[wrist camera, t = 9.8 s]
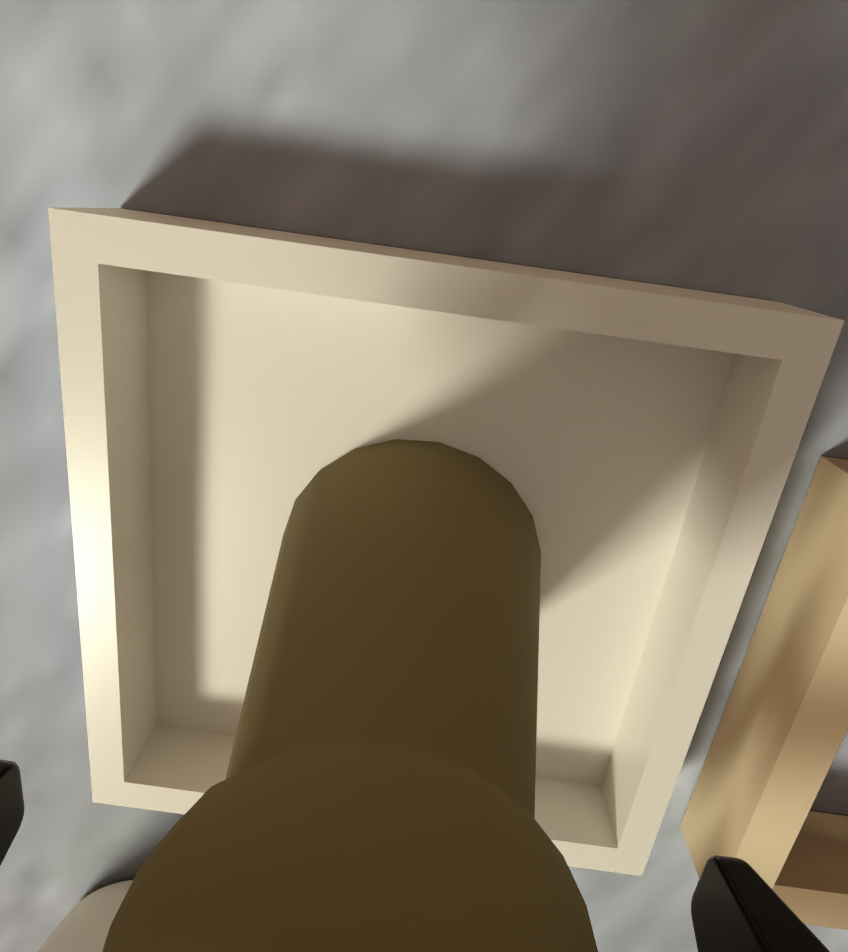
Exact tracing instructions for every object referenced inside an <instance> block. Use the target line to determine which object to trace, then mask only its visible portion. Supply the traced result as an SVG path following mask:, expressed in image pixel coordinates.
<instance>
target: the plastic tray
mask: <svg viewBox="0 0 848 952" xmlns="http://www.w3.org/2000/svg"><path fill="white" fill-rule="evenodd" d="M48 211H49V225H50V238H51V251H52V265H53V278H54V292H55V305H56V318H57V332H58V345H59V358H60V372H61V385H62V398H63V412H64V425H65V438H66V452H67V465H68V478H69V492H70V505H71V519H72V532H73V545H74V559H75V572H76V585H77V599H78V612H79V625H80V639H81V652H82V665H83V679H84V692H85V705H86V719H87V732H88V746H89V759H90V772H91V786H92V799H93V802H96V803H103V804H110V805H118V806H125V807H133V808H140V809H148V810H155V811H163V812H170V813H177V814H186V813H187V811H188V810H189V809H190V808H191V807H192V806H193V805H194V804H195V803H196V802H197V801H198V800H199V799H200V798H201V797H202V796H203V795H204V793H205V792H206V791H207V790H208V789H209V788H210V787H211V786H213V785H215V784H217V783H219V782H221V781H223V780H225V778H226V774H227V769H228V765H229V761H230V757H231V753H232V748H233V744H234V740H235V736H236V732H237V727H238V723H239V719H240V715H241V711H242V706H243V702H244V698H245V694H246V689H247V685H248V681H249V677H250V673H251V668H252V664H253V660H254V656H255V652H256V647H257V643H258V639H259V635H260V631H261V626H262V622H263V618H264V614H265V610H266V605H267V601H268V597H269V593H270V588H271V584H272V580H273V576H274V572H275V567H276V563H277V559H278V555H279V551H280V546H281V542H282V538H283V534H284V531H285V528H286V525H287V522H288V519H289V516H290V514H291V511H292V508H293V505H294V502H295V499H296V498H297V497H298V496H299V495H300V493H301V492H302V491H303V490H304V488H305V487H306V486H307V485H308V484H309V482H310V481H311V480H312V479H313V477H314V476H315V475H316V474H317V473H318V471H319V470H320V469H322V468H324V467H325V466H327V465H329V464H330V463H332V462H334V461H335V460H337V459H338V458H340V457H342V456H343V455H345V454H347V453H348V452H350V451H352V450H353V449H356V448H360V447H364V446H368V445H373V444H377V443H381V442H385V441H389V440H394V439H403V440H418V441H432V442H441V443H443V444H446V445H448V446H451V447H454V448H456V449H459V450H461V451H464V452H467V453H469V454H472V455H474V456H477V457H480V458H481V459H482V460H483V461H485V462H486V463H487V464H488V465H490V466H491V467H492V468H493V469H495V470H496V471H497V472H498V473H500V474H501V475H502V476H503V477H505V478H506V479H507V480H508V481H510V482H511V483H512V484H513V486H514V488H515V489H516V491H517V492H518V494H519V495H520V497H521V498H522V500H523V502H524V503H525V505H526V506H527V508H528V509H529V511H530V513H531V514H532V516H533V519H534V523H535V528H536V532H537V537H538V541H539V546H540V550H541V574H540V614H539V654H538V695H537V735H536V775H535V816H534V819H535V820H536V821H537V822H538V824H539V825H540V826H541V828H542V829H543V830H544V832H545V833H546V834H547V835H548V837H549V838H550V839H551V841H552V842H553V843H554V845H555V846H556V847H557V848H558V850H559V851H560V852H561V854H562V855H563V856H564V858H565V860H566V863H567V865H568V866H571V867H579V868H586V869H594V870H601V871H609V872H616V873H623V874H631V875H638V876H642V875H643V872H644V869H645V866H646V864H647V861H648V858H649V855H650V853H651V850H652V847H653V845H654V842H655V839H656V836H657V834H658V831H659V828H660V825H661V823H662V820H663V817H664V814H665V812H666V809H667V806H668V803H669V801H670V798H671V795H672V792H673V790H674V787H675V784H676V781H677V779H678V776H679V773H680V770H681V768H682V765H683V762H684V760H685V757H686V754H687V751H688V749H689V746H690V743H691V740H692V738H693V735H694V732H695V729H696V727H697V724H698V721H699V718H700V716H701V713H702V710H703V707H704V705H705V702H706V699H707V696H708V694H709V691H710V688H711V685H712V683H713V680H714V677H715V675H716V672H717V669H718V666H719V664H720V661H721V658H722V655H723V653H724V650H725V647H726V644H727V642H728V639H729V636H730V633H731V631H732V628H733V625H734V622H735V620H736V617H737V614H738V611H739V609H740V606H741V603H742V600H743V598H744V595H745V592H746V590H747V587H748V584H749V581H750V579H751V576H752V573H753V570H754V568H755V565H756V562H757V559H758V557H759V554H760V551H761V548H762V546H763V543H764V540H765V537H766V535H767V532H768V529H769V526H770V524H771V521H772V518H773V516H774V513H775V510H776V507H777V505H778V502H779V499H780V496H781V494H782V491H783V488H784V485H785V483H786V480H787V477H788V474H789V472H790V469H791V466H792V463H793V461H794V458H795V455H796V452H797V450H798V447H799V444H800V441H801V439H802V436H803V433H804V431H805V428H806V425H807V422H808V420H809V417H810V414H811V411H812V409H813V406H814V403H815V400H816V398H817V395H818V392H819V389H820V387H821V384H822V381H823V378H824V376H825V373H826V370H827V367H828V365H829V362H830V359H831V356H832V354H833V351H834V348H835V346H836V343H837V340H838V337H839V335H840V332H841V329H842V326H843V324H844V321H845V320H841V319H837V318H834V317H830V316H827V315H823V314H820V313H816V312H813V311H809V310H806V309H802V308H799V307H795V306H792V305H788V304H785V303H781V302H777V301H770V300H763V299H756V298H749V297H742V296H735V295H727V294H720V293H713V292H706V291H699V290H692V289H685V288H678V287H671V286H664V285H657V284H650V283H643V282H636V281H629V280H622V279H615V278H608V277H601V276H594V275H586V274H579V273H572V272H565V271H558V270H551V269H544V268H537V267H530V266H523V265H516V264H509V263H502V262H495V261H488V260H481V259H474V258H467V257H460V256H453V255H445V254H438V253H431V252H424V251H417V250H410V249H403V248H396V247H389V246H382V245H375V244H368V243H361V242H354V241H347V240H340V239H333V238H326V237H319V236H312V235H304V234H297V233H290V232H283V231H276V230H269V229H262V228H255V227H248V226H241V225H234V224H227V223H220V222H213V221H206V220H199V219H192V218H185V217H178V216H171V215H163V214H156V213H149V212H142V211H135V210H128V209H121V208H48Z"/></svg>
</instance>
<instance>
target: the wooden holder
mask: <svg viewBox="0 0 848 952" xmlns="http://www.w3.org/2000/svg"><path fill="white" fill-rule="evenodd" d="M847 730H848V460H847V459H839V458H832V457H825V456H821V458H820V460H819V463H818V465H817V468H816V471H815V473H814V476H813V479H812V481H811V484H810V486H809V489H808V492H807V494H806V497H805V500H804V502H803V505H802V507H801V510H800V513H799V515H798V518H797V521H796V523H795V526H794V529H793V531H792V534H791V536H790V539H789V542H788V544H787V547H786V550H785V552H784V555H783V557H782V560H781V563H780V565H779V568H778V571H777V573H776V576H775V578H774V581H773V584H772V586H771V589H770V592H769V594H768V597H767V600H766V602H765V605H764V607H763V610H762V613H761V615H760V618H759V621H758V623H757V626H756V628H755V631H754V634H753V636H752V639H751V642H750V644H749V647H748V649H747V652H746V655H745V657H744V660H743V663H742V665H741V668H740V671H739V673H738V676H737V678H736V681H735V684H734V686H733V689H732V692H731V694H730V697H729V699H728V702H727V705H726V707H725V710H724V713H723V715H722V718H721V720H720V723H719V726H718V728H717V731H716V734H715V736H714V739H713V741H712V744H711V747H710V749H709V752H708V755H707V757H706V760H705V763H704V765H703V768H702V770H701V773H700V776H699V778H698V781H697V784H696V786H695V789H694V791H693V794H692V797H691V799H690V802H689V805H688V807H687V810H686V812H685V815H684V818H683V820H682V823H681V829H682V832H683V835H684V837H685V840H686V843H687V846H688V848H689V851H690V854H691V857H692V859H693V862H694V865H695V868H696V870H697V873H698V876H699V879H700V877H701V874H702V872H703V869H704V867H705V864H706V862H707V860H708V859H709V858H710V857H711V856H713V855H719V856H727V857H734V858H739V859H742V860H744V861H745V862H747V863H748V864H749V865H750V866H751V867H752V868H753V869H754V870H755V871H756V872H757V873H758V874H759V875H760V877H761V878H762V879H763V880H764V881H765V882H766V883H767V884H768V885H769V886H770V887H771V888H772V890H773V891H774V892H775V893H776V894H777V895H778V896H779V897H780V898H781V899H782V900H783V901H784V903H785V904H786V905H787V906H788V907H789V908H790V909H791V910H792V911H793V912H794V913H795V914H796V916H797V917H798V918H799V919H800V920H801V921H802V922H803V923H804V924H809V925H817V926H824V927H832V928H839V929H846V930H848V816H843V815H836V814H828V813H821V812H813V811H809V810H810V808H811V806H812V804H813V802H814V800H815V798H816V796H817V794H818V792H819V789H820V787H821V785H822V783H823V781H824V779H825V777H826V775H827V773H828V770H829V768H830V766H831V764H832V762H833V760H834V758H835V756H836V754H837V752H838V749H839V747H840V745H841V743H842V741H843V739H844V737H845V735H846V733H847Z"/></svg>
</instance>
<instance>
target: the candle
mask: <svg viewBox="0 0 848 952" xmlns="http://www.w3.org/2000/svg"><path fill="white" fill-rule="evenodd" d="M132 881H133V880H128V881H122V882H117V883H114V884H110V885H107V886H105V887H102V888H100V889H98V890H96V891H94V892H92V893H91V894H89V895H88V896H86V897H85V898H83V899H82V900H81V901H80V902H79V903H78V904H77V905H76V906H75V907H74V908H73V909H72V910H71V911H70V912H69V913H68V914H67V916H66V917H65V918H64V919H63V920H62V922H61V923H60V924H59V925H58V927H57V928H56V929H55V930H54V932H53V933H52V934H51V935H50V937H49V938H48V939H47V941H46V942H45V943H44V944H43V946H42V947H41V948H40V950H39V951H38V952H102V951H103V948H104V944H105V941H106V938H107V935H108V932H109V928H110V925H111V923H112V921H113V919H114V917H115V915H116V913H117V911H118V909H119V907H120V905H121V903H122V901H123V899H124V897H125V895H126V893H127V891H128V889H129V887H130V885H131V883H132Z"/></svg>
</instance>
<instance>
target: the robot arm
mask: <svg viewBox="0 0 848 952" xmlns="http://www.w3.org/2000/svg"><path fill="white" fill-rule="evenodd" d="M23 815H24V800H23V792H22V784H21V777H20V770H19V767H18V765H17V764H16V763H15V762H12V761H7V760H0V865H1V863H2V861H3V859H4V857H5V855H6V853H7V851H8V849H9V847H10V845H11V843H12V841H13V839H14V837H15V836H16V834H17V832H18V830H19V827H20V825H21V822H22V819H23ZM691 915H692V921H693V927H694V932H695V937H696V943H697V948H698V952H830V951H829V950H828V949H827V948H826V947H825V946H824V945H823V944H822V943H821V942H820V940H819V939H818V938H817V937H816V936H815V935H814V934H813V933H812V932H811V931H810V930H809V929H808V927H807V926H806V925H805V924H804V923H803V922H802V921H801V920H800V919H799V918H798V917H797V916H796V914H795V913H794V912H793V911H792V910H791V909H790V908H789V907H788V906H787V905H786V904H785V903H784V901H783V900H782V899H781V898H780V897H779V896H778V895H777V894H776V893H775V892H774V891H773V890H772V888H771V887H770V886H769V885H768V884H767V883H766V882H765V881H764V880H763V879H762V878H761V877H760V875H759V874H758V873H757V872H756V871H755V870H754V869H753V868H752V867H751V866H750V865H749V864H748V863H747V862H745V861H744V860H742V859H739V858H734V857H727V856H719V855H713V856H711V857H710V858H709V859H708V860H707V862H706V864H705V867H704V869H703V872H702V874H701V877H700V879H699V881H698V884H697V886H696V889H695V891H694V893H693V897H692V902H691Z"/></svg>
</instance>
